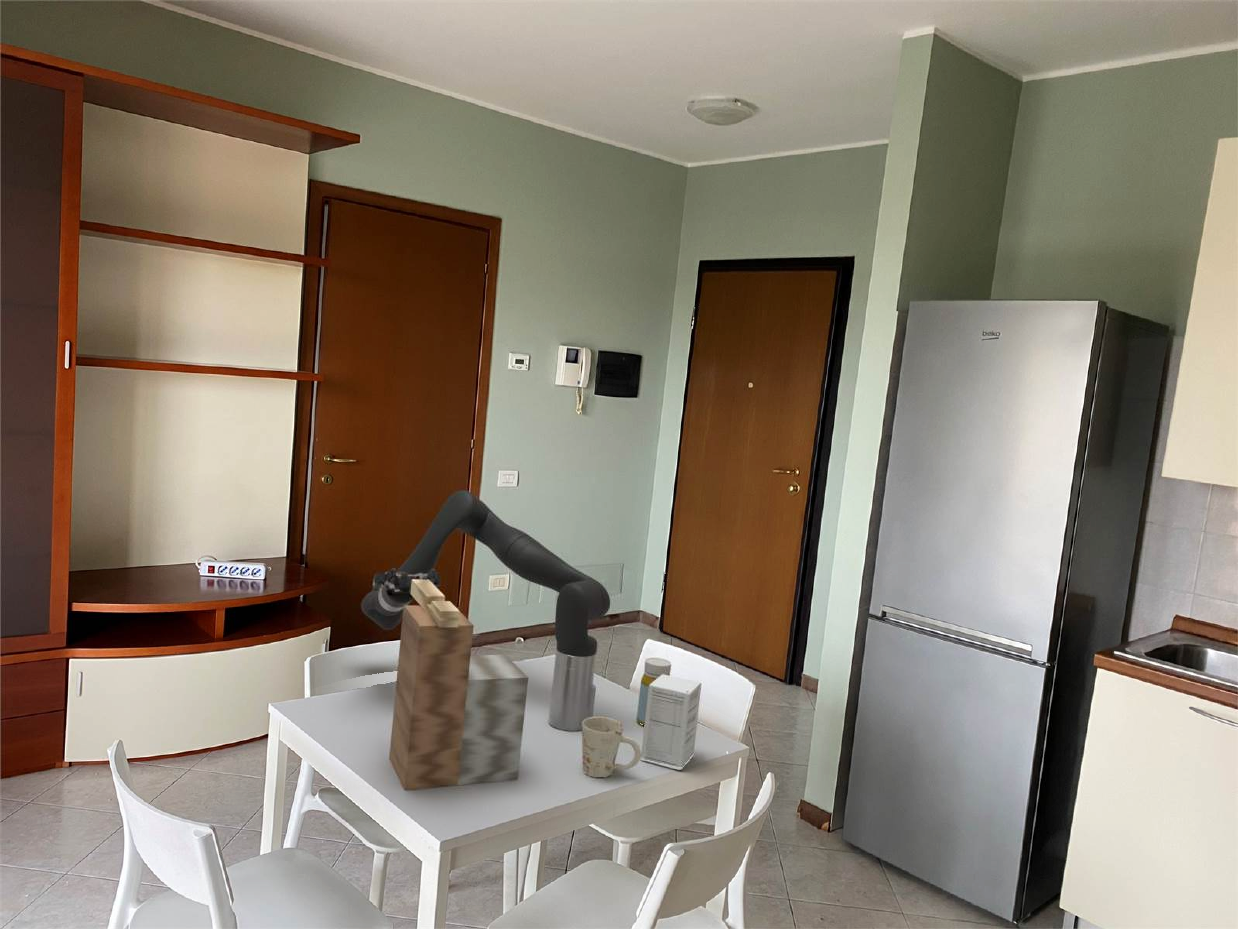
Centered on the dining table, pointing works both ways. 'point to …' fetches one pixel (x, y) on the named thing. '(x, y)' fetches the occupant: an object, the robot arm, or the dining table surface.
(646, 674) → the bottle
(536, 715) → the dining table surface
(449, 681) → the step shelf
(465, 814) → the dining table surface
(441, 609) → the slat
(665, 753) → the supplement box
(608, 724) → the mug
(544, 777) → the dining table surface
